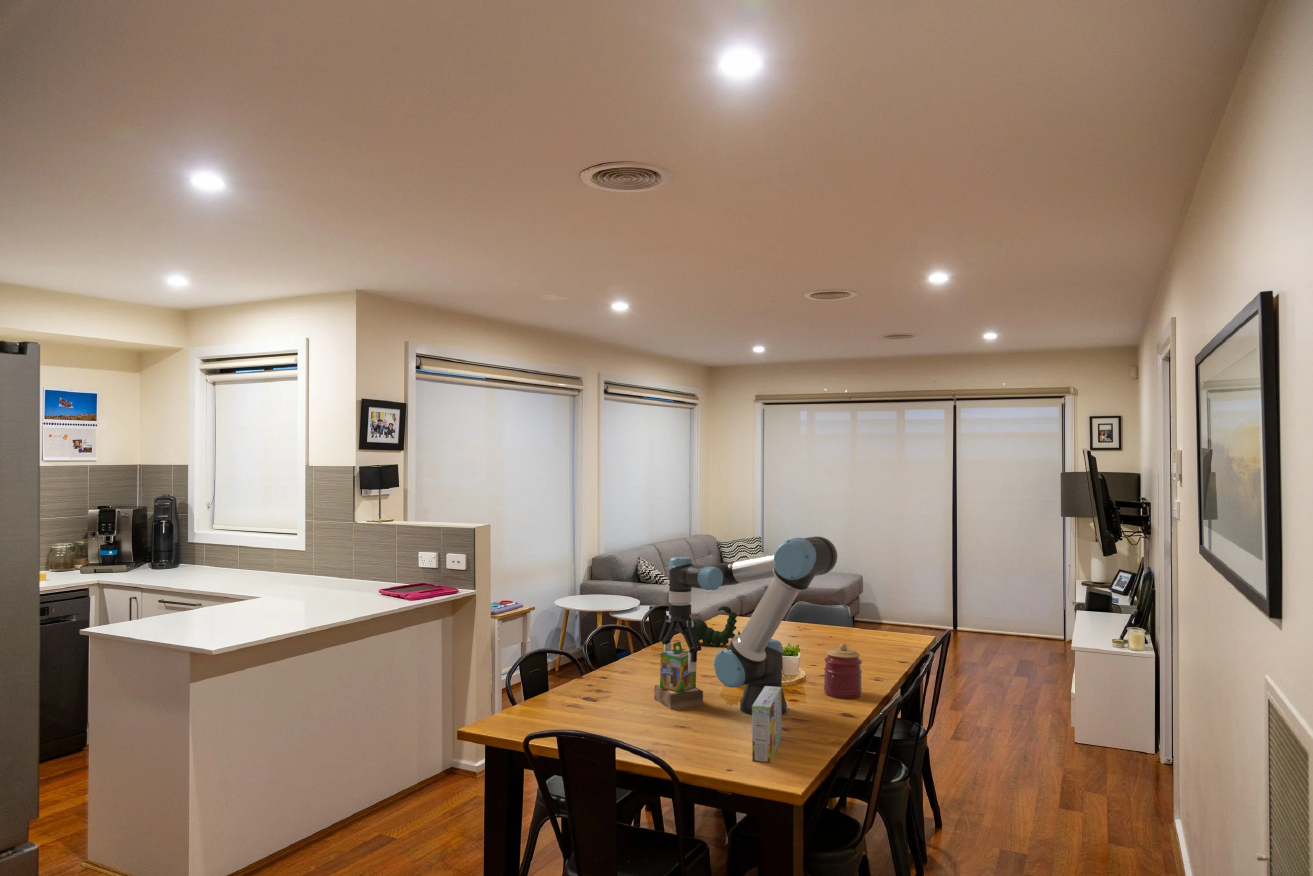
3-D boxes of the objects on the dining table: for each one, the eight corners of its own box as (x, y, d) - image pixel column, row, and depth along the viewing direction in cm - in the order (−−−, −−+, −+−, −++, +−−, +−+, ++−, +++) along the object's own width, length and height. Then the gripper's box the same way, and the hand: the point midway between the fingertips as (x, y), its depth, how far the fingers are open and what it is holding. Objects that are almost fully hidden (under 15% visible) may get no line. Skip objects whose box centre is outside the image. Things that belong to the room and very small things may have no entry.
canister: (832, 687, 297) (833, 638, 297) (867, 693, 289) (867, 643, 290) (817, 695, 286) (818, 644, 287) (853, 701, 279) (853, 649, 279)
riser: (702, 706, 271) (703, 690, 271) (670, 710, 266) (670, 694, 266) (685, 696, 282) (685, 681, 282) (654, 700, 277) (654, 685, 277)
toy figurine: (735, 649, 364) (681, 639, 372) (740, 606, 364) (686, 597, 372) (730, 653, 355) (675, 643, 363) (735, 609, 355) (680, 600, 363)
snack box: (763, 737, 240) (764, 685, 241) (782, 739, 239) (783, 686, 239) (750, 761, 220) (751, 704, 221) (771, 764, 219) (772, 706, 219)
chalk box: (681, 693, 267) (682, 647, 268) (658, 688, 273) (660, 643, 273) (697, 687, 275) (698, 643, 275) (674, 682, 280) (675, 638, 281)
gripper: (712, 607, 267) (712, 673, 266) (666, 597, 287) (666, 659, 287) (694, 609, 263) (693, 676, 262) (649, 599, 283) (648, 661, 282)
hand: (679, 667), depth 274 cm, fingers open, 13 cm apart
